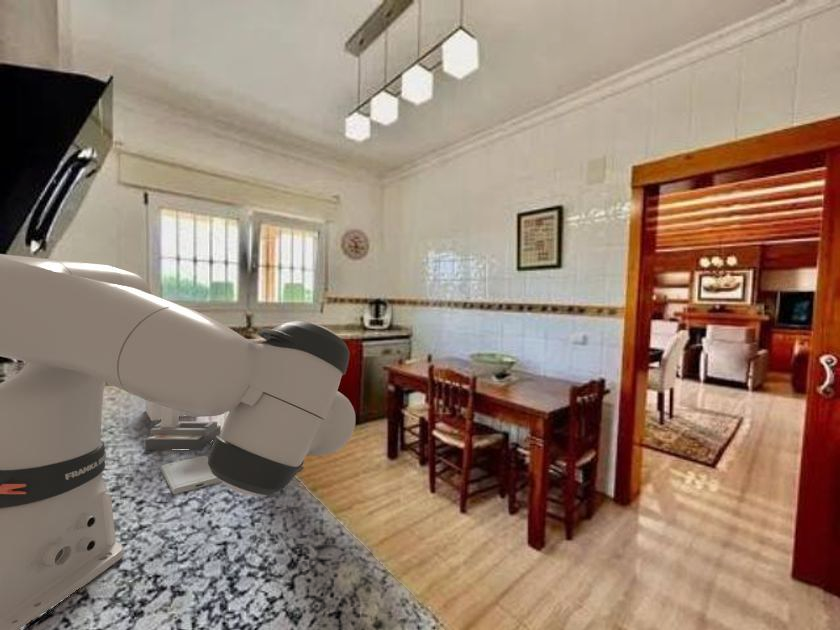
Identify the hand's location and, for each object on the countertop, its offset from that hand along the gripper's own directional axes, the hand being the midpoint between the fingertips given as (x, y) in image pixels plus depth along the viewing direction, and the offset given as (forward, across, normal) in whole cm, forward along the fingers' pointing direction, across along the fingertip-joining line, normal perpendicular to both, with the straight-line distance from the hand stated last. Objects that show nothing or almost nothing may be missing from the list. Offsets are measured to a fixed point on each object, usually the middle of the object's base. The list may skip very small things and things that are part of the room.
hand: (185, 397), depth 91 cm
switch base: (0, 0, -11) cm, 11 cm away
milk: (+16, +24, -11) cm, 30 cm away
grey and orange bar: (+3, 0, -8) cm, 9 cm away
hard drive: (-10, -18, -12) cm, 24 cm away
